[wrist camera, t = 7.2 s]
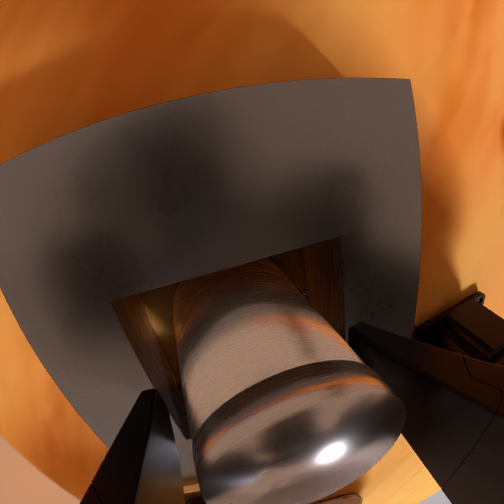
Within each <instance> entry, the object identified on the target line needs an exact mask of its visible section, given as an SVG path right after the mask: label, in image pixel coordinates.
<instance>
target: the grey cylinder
mask: <svg viewBox="0 0 504 504" xmlns="http://www.w3.org/2000/svg"><path fill="white" fill-rule="evenodd" d="M172 311H173V320H174V329H175V338H176V346H177V354H178V361H179V368H180V375H181V382H182V388H183V394H184V400H185V406H186V412H187V418H188V423H189V429H190V434H191V439H192V444H193V445H192V456H193V461H194V466H195V470H196V475H197V479H198V484H199V488H200V492H201V495H202V498H203V500H204V501H205V502H206V504H309V503H312V502H315V501H317V500H319V499H322V498H324V497H326V496H328V495H330V494H332V493H334V492H336V491H338V490H340V489H342V488H343V487H345V486H347V485H348V484H350V483H351V482H353V481H355V480H356V479H357V478H359V477H360V476H362V475H363V474H364V473H366V472H367V471H368V470H369V469H370V468H372V467H373V466H374V465H375V464H376V463H377V462H378V461H379V460H380V459H381V458H382V457H383V456H384V455H385V454H386V453H387V452H388V451H389V450H390V448H391V447H392V446H393V445H394V443H395V442H396V440H397V439H398V437H399V435H400V434H401V432H402V430H403V427H404V425H405V421H406V415H407V411H406V407H405V405H404V403H403V401H402V400H401V399H400V398H399V397H398V396H397V395H396V394H395V392H394V391H393V390H392V389H391V388H390V387H389V386H388V385H387V384H386V383H385V381H384V380H383V379H382V378H381V377H380V376H379V375H378V374H377V373H376V371H374V370H373V369H372V368H371V367H369V366H367V365H366V364H365V363H364V362H363V361H362V359H361V358H360V357H359V356H358V355H357V354H356V353H355V352H354V351H353V349H352V348H351V347H350V346H349V345H348V344H347V343H346V342H345V341H344V339H343V338H342V337H341V336H340V335H339V334H338V333H337V332H336V331H335V330H334V328H333V327H332V326H331V325H330V324H329V323H328V322H327V321H326V320H325V318H324V317H323V316H322V315H321V314H320V313H319V312H318V311H317V310H316V309H315V307H314V306H313V305H312V304H311V303H310V302H309V301H308V300H307V299H306V298H305V296H304V295H303V294H302V293H301V292H300V291H299V290H298V289H297V288H296V287H295V285H294V284H293V283H292V282H291V281H290V280H289V279H288V278H287V277H286V276H285V275H284V273H283V272H282V271H281V270H280V269H279V268H278V267H277V266H276V265H275V264H274V263H273V262H272V261H270V260H269V259H267V258H263V259H259V260H256V261H252V262H249V263H245V264H242V265H238V266H235V267H231V268H228V269H224V270H220V271H217V272H213V273H210V274H206V275H203V276H199V277H196V278H192V279H188V280H185V281H181V282H180V283H179V285H178V287H177V289H176V292H175V295H174V299H173V310H172Z"/></svg>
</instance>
